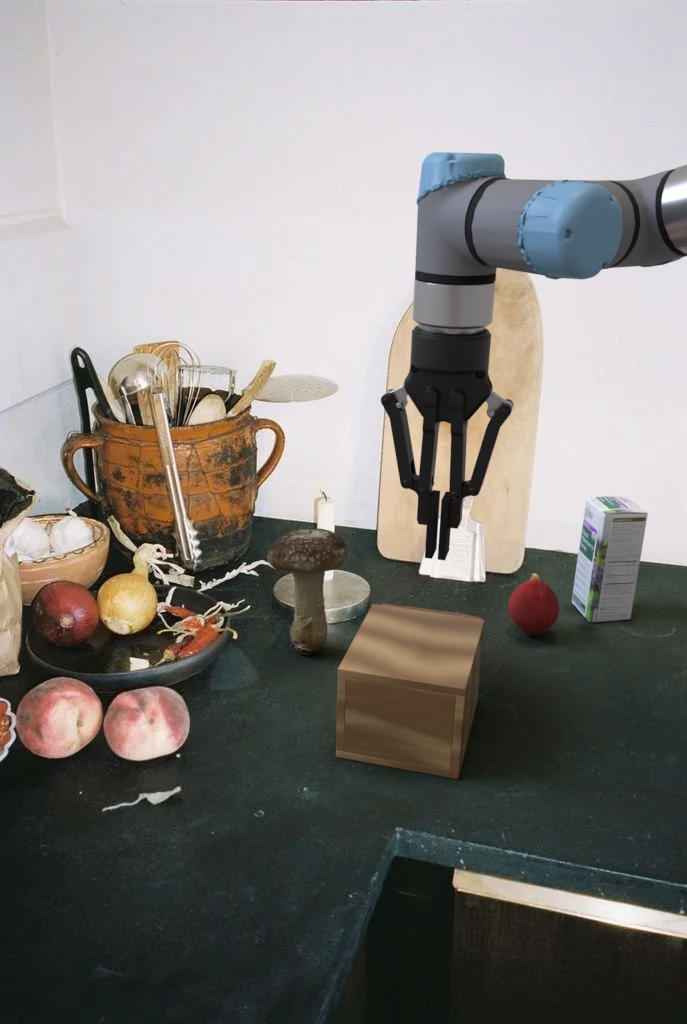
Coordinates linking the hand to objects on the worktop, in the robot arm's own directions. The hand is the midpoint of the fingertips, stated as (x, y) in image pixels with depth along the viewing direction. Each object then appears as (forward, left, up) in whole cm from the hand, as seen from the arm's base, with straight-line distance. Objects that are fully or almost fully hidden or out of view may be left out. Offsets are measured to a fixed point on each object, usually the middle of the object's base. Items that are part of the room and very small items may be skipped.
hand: (437, 553), depth 97 cm
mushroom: (+14, 0, -15) cm, 20 cm away
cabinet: (0, +11, -14) cm, 18 cm away
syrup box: (-18, -21, -15) cm, 32 cm away
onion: (-10, -12, -15) cm, 22 cm away
